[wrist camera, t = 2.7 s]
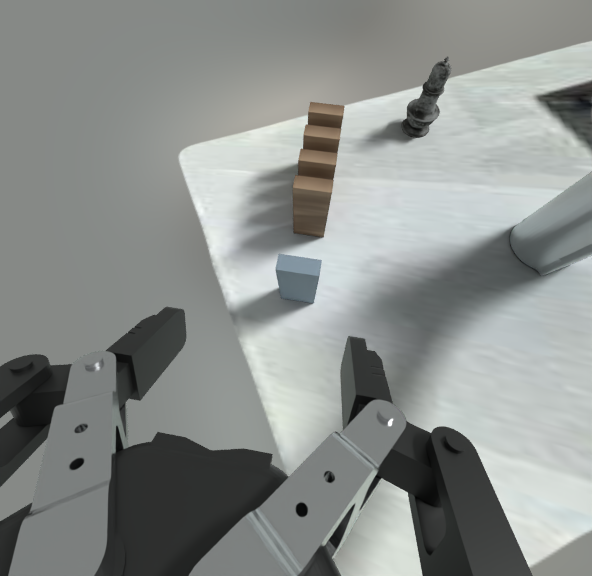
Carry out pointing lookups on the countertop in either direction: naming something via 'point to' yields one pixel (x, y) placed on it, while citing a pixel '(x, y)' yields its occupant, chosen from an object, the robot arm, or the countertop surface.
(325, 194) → the domino
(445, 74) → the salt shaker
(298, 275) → the blue domino
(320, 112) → the domino
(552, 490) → the countertop surface
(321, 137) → the domino
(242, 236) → the countertop surface
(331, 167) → the domino
